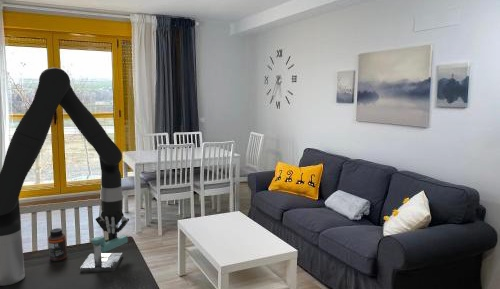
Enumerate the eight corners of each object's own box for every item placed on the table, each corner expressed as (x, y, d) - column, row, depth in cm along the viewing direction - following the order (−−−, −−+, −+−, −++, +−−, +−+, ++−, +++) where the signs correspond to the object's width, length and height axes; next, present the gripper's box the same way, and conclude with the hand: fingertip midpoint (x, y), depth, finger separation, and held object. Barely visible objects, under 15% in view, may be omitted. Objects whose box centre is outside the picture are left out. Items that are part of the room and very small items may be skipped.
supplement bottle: (62, 253, 156) (60, 225, 154) (69, 257, 152) (68, 229, 151) (46, 258, 152) (44, 230, 150) (54, 263, 148) (52, 234, 146)
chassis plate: (79, 272, 141) (78, 245, 140) (90, 257, 153) (89, 232, 151) (114, 271, 142) (113, 244, 141) (122, 256, 154) (121, 231, 152)
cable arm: (89, 254, 141) (88, 239, 141) (122, 240, 154) (121, 226, 153) (96, 257, 139) (95, 242, 139) (129, 242, 152) (128, 228, 151)
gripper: (89, 199, 146) (91, 244, 149) (123, 202, 144) (124, 247, 147) (100, 193, 153) (101, 236, 156) (132, 196, 152) (133, 239, 154)
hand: (113, 241), depth 152 cm, fingers closed
